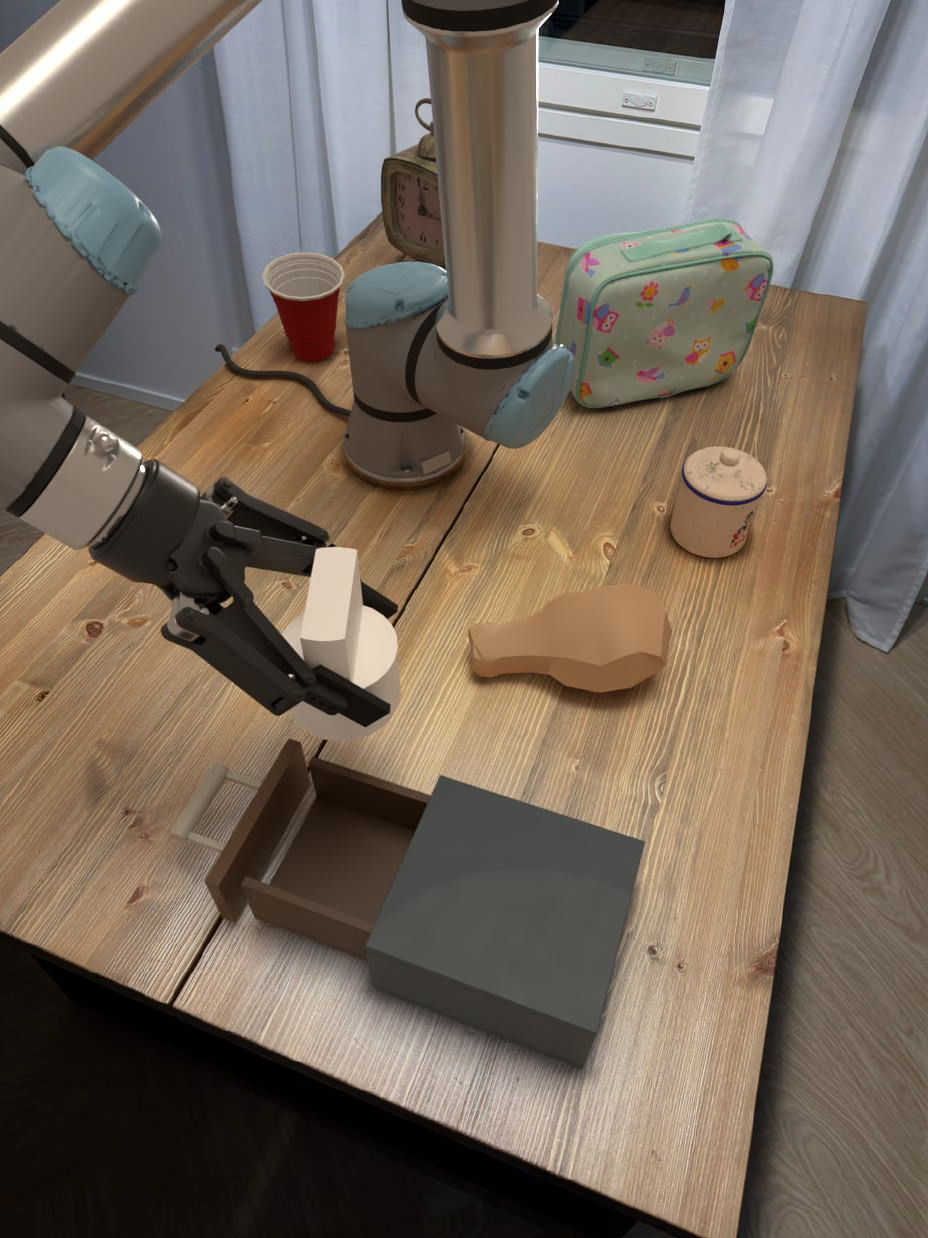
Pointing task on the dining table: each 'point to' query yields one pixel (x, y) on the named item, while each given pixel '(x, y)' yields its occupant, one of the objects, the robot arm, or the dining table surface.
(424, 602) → the dining table surface
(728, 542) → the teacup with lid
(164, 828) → the dining table surface
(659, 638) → the squash
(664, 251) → the lunch box
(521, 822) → the cabinet
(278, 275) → the plastic cup
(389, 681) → the cylinder with rectangular tab
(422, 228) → the tabletop clock
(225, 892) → the drawer
